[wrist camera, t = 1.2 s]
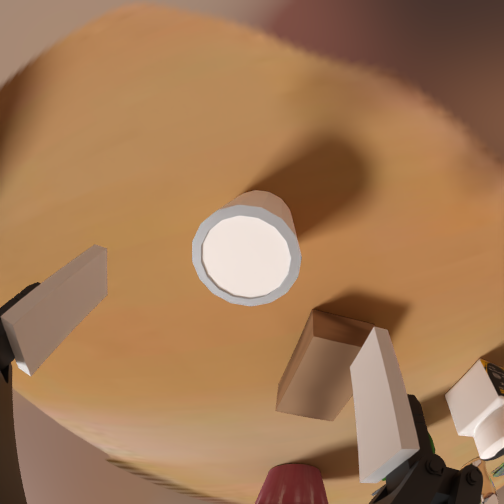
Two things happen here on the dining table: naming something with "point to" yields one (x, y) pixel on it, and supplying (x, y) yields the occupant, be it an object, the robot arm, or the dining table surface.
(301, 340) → the walnut base block
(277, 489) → the plant pot
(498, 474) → the dish towel
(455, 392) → the medicine bottle
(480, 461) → the beer glass
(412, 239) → the dining table surface
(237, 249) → the white cup
